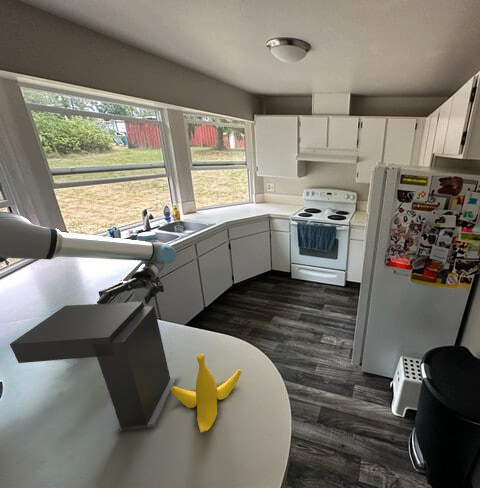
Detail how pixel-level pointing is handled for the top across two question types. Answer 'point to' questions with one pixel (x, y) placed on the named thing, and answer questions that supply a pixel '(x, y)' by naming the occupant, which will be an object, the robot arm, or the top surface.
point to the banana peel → (205, 394)
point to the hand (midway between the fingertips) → (123, 302)
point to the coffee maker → (109, 354)
